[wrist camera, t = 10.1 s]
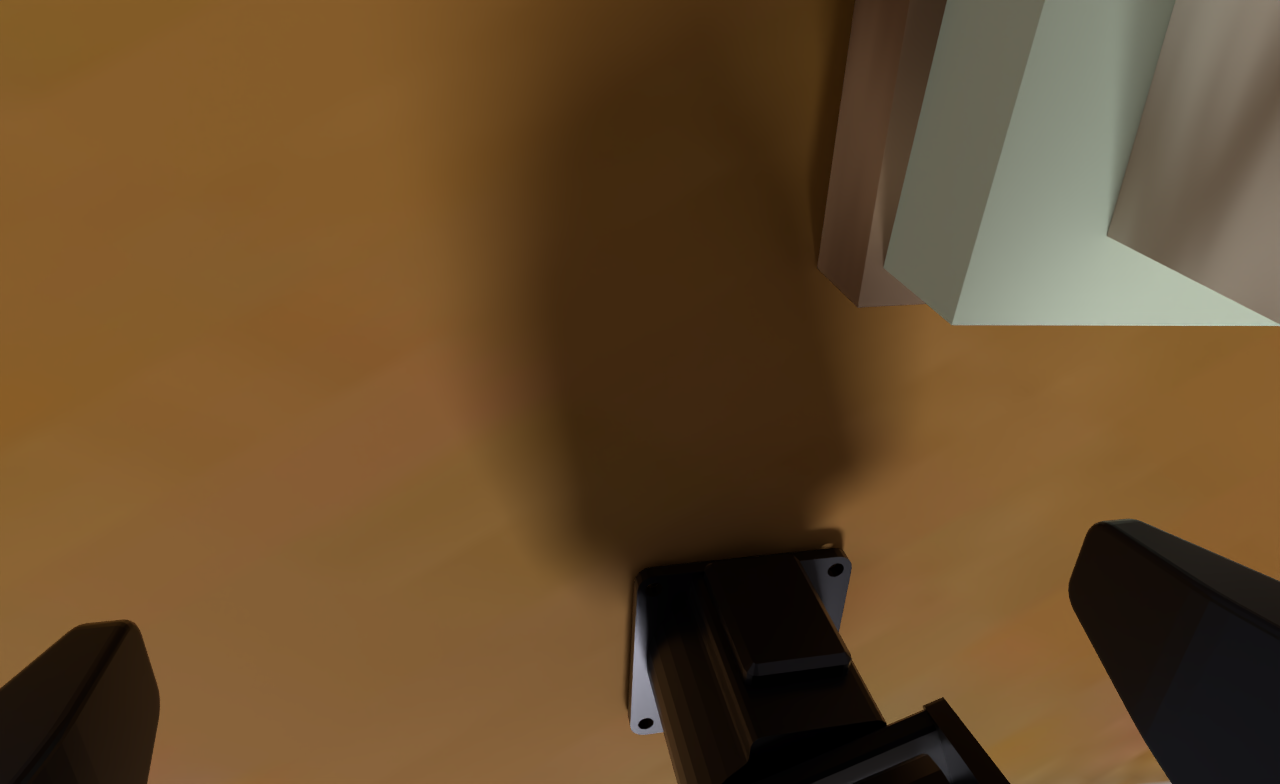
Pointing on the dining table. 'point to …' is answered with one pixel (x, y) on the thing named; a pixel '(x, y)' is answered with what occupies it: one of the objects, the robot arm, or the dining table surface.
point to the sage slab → (1038, 171)
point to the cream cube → (1211, 153)
